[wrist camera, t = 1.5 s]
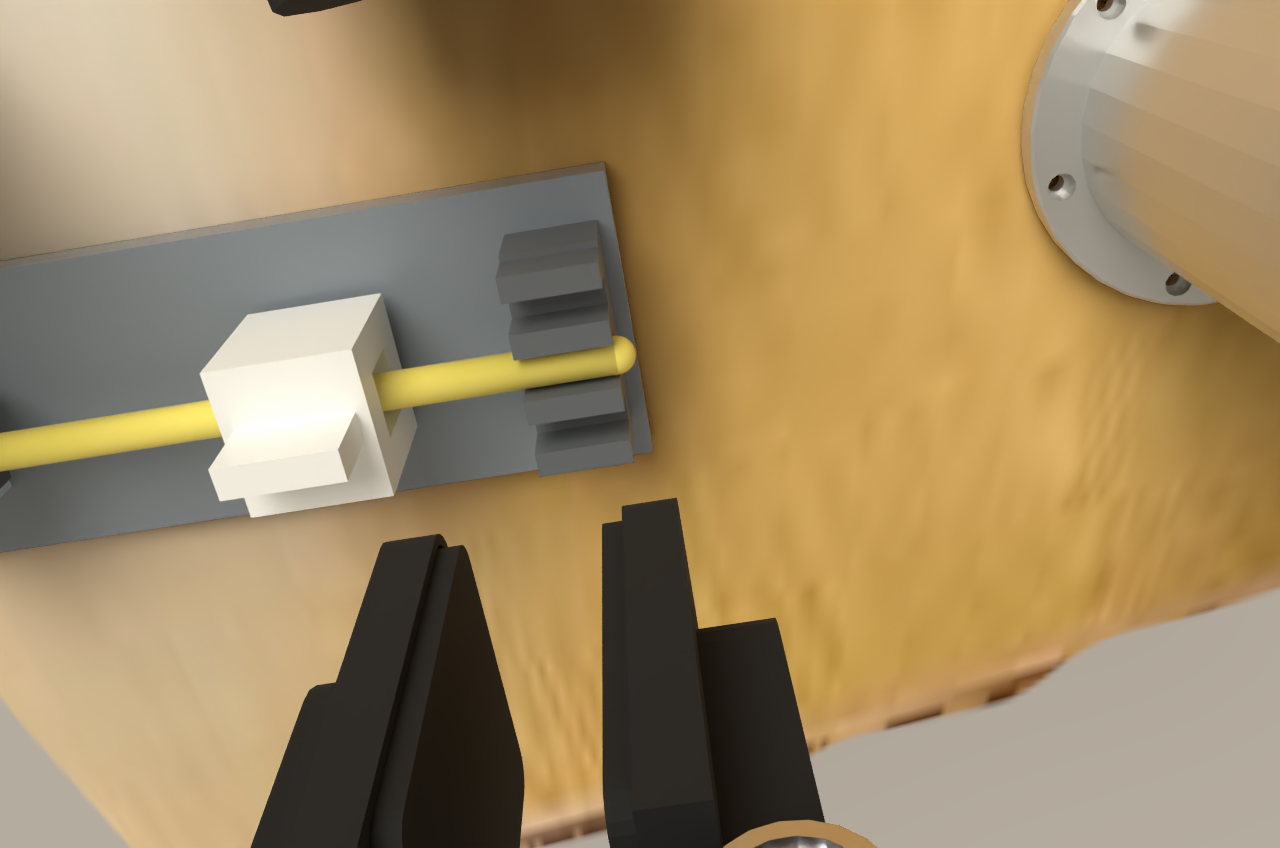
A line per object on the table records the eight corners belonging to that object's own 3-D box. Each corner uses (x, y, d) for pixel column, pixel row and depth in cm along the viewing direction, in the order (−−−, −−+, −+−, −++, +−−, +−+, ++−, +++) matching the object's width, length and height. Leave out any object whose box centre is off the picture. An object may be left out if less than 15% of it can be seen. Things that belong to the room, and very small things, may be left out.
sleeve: (381, 293, 36) (332, 383, 29) (417, 426, 38) (380, 538, 32) (247, 314, 36) (170, 409, 30) (290, 446, 38) (227, 561, 32)
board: (604, 161, 36) (605, 201, 32) (651, 436, 40) (657, 506, 36) (-173, 289, 37) (-280, 346, 33) (-46, 544, 41) (-124, 625, 37)
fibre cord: (632, 326, 35) (633, 341, 34) (638, 362, 35) (639, 377, 34) (-80, 439, 36) (-101, 457, 35) (-64, 472, 36) (-84, 491, 35)
